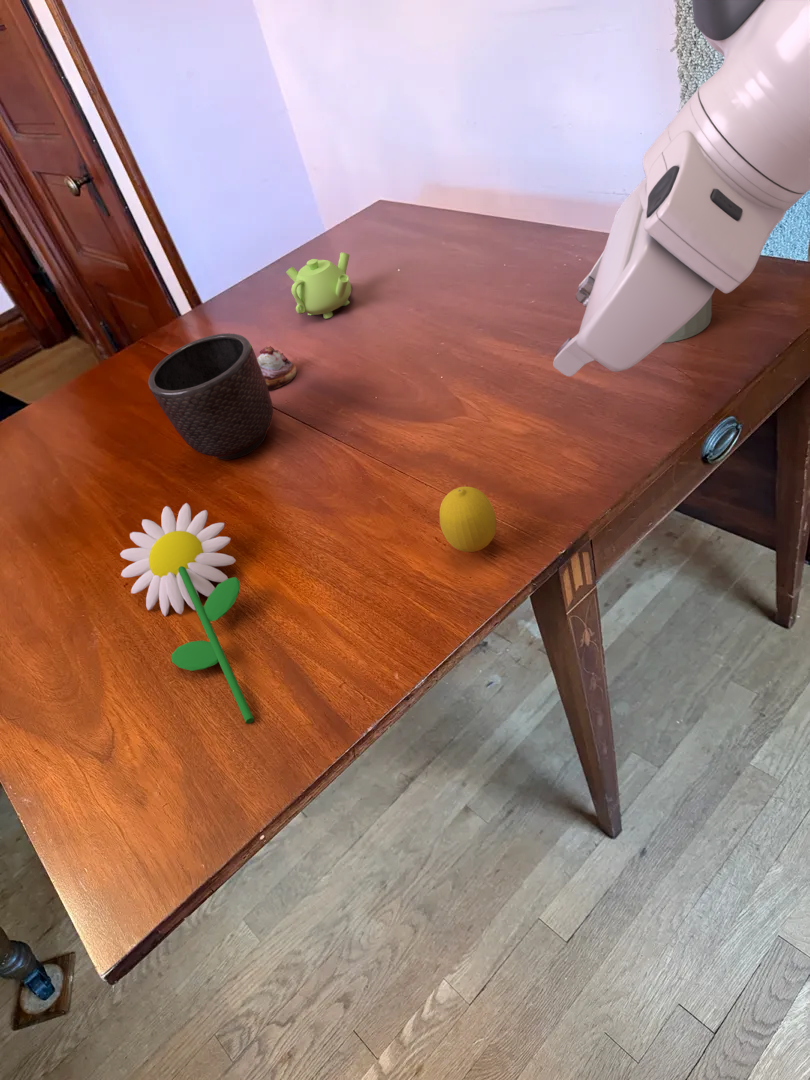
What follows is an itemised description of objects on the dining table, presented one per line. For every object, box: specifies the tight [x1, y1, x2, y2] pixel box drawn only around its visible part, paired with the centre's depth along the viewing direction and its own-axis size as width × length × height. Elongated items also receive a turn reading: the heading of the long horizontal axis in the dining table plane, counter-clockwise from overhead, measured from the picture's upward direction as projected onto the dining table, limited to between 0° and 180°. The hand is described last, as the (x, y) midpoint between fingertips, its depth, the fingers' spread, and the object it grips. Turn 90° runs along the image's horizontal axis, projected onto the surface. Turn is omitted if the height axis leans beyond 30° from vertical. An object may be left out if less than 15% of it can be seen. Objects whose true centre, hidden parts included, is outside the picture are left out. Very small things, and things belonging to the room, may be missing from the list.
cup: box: [662, 295, 713, 344], centre depth 95 cm, size 10×10×7 cm
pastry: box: [256, 345, 297, 391], centre depth 112 cm, size 8×8×5 cm
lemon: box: [438, 486, 497, 553], centre depth 74 cm, size 6×6×8 cm
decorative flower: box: [119, 502, 255, 725], centre depth 78 cm, size 13×5×30 cm
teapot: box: [285, 252, 352, 320], centre depth 124 cm, size 11×12×8 cm
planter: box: [147, 332, 274, 461], centre depth 99 cm, size 14×14×13 cm
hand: (572, 331), depth 56 cm, fingers open, 8 cm apart
